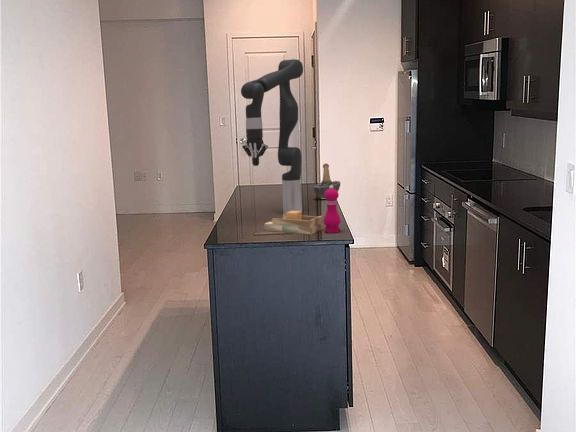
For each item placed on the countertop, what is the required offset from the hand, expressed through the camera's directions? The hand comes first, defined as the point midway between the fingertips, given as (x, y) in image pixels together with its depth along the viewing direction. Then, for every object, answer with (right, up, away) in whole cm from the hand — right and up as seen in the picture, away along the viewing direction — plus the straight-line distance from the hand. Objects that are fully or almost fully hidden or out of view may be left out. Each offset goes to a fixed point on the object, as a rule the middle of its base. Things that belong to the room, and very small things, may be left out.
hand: (255, 165), depth 282 cm
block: (+18, -26, -13) cm, 34 cm away
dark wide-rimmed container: (+37, -14, +67) cm, 78 cm away
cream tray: (+17, -29, -12) cm, 36 cm away
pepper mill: (+34, -30, -18) cm, 49 cm away
